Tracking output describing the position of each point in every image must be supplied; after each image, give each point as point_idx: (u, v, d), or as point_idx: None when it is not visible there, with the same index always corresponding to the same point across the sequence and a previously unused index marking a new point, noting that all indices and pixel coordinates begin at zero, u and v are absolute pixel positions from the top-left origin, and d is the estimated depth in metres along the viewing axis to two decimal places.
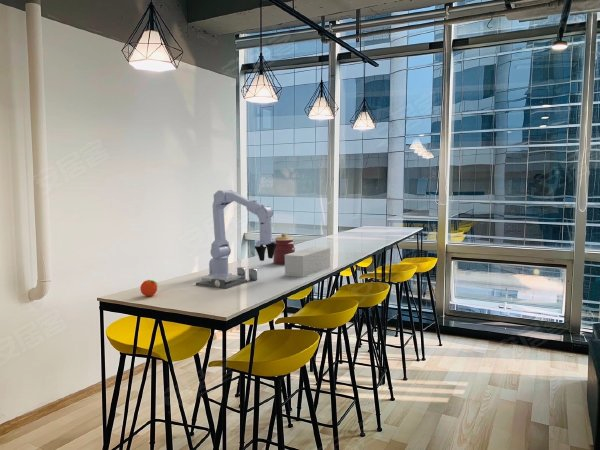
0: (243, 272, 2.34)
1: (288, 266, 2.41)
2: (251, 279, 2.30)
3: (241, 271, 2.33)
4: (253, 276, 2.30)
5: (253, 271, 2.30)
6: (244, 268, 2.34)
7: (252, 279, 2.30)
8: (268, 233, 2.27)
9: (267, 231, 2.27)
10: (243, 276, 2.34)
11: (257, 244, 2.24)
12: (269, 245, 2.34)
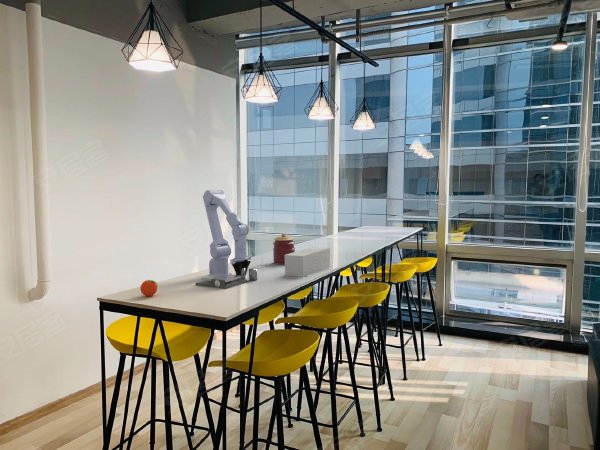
0: (243, 272, 2.34)
1: (288, 266, 2.41)
2: (251, 279, 2.30)
3: (241, 271, 2.33)
4: (253, 276, 2.30)
5: (253, 271, 2.30)
6: (244, 268, 2.34)
7: (252, 279, 2.30)
8: (243, 250, 2.32)
9: (241, 248, 2.31)
10: (243, 276, 2.34)
11: (232, 261, 2.28)
12: (243, 262, 2.37)
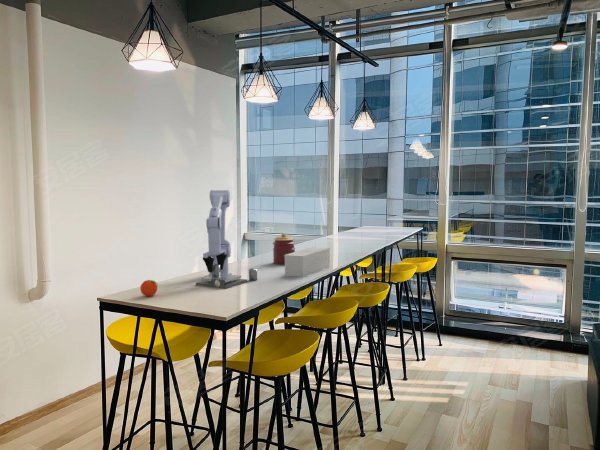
0: (218, 269, 2.25)
1: (288, 266, 2.41)
2: (251, 279, 2.30)
3: (216, 268, 2.24)
4: (253, 276, 2.30)
5: (253, 271, 2.30)
6: (219, 265, 2.25)
7: (252, 279, 2.30)
8: (217, 244, 2.23)
9: (210, 242, 2.23)
10: (218, 273, 2.25)
11: (204, 255, 2.19)
12: (219, 256, 2.29)
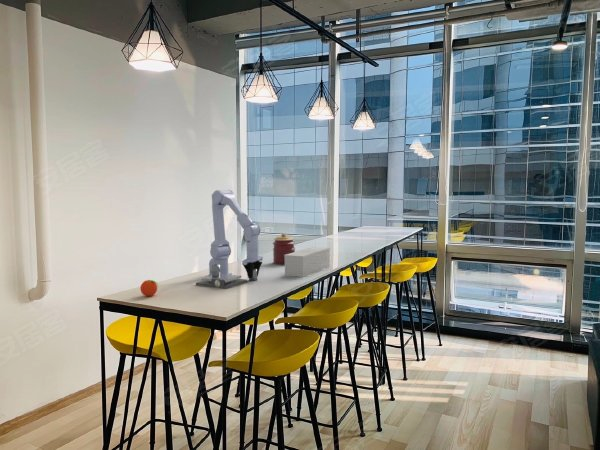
0: (218, 269, 2.25)
1: (288, 266, 2.41)
2: (251, 279, 2.30)
3: (216, 268, 2.24)
4: (253, 276, 2.30)
5: (253, 271, 2.30)
6: (219, 265, 2.25)
7: (252, 279, 2.30)
8: (255, 251, 2.29)
9: (253, 249, 2.28)
10: (218, 273, 2.25)
11: (243, 262, 2.25)
12: (254, 263, 2.33)
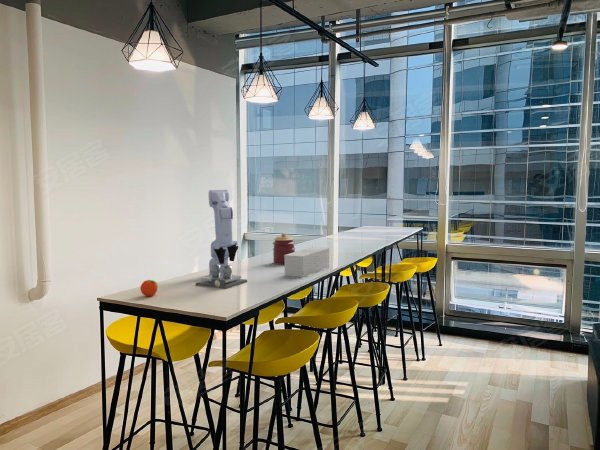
0: (218, 269, 2.25)
1: (288, 266, 2.41)
2: (226, 276, 2.21)
3: (216, 268, 2.24)
4: (227, 273, 2.21)
5: (228, 268, 2.21)
6: (219, 265, 2.25)
7: (227, 276, 2.21)
8: (228, 235, 2.19)
9: (222, 233, 2.19)
10: (218, 273, 2.25)
11: (216, 246, 2.16)
12: (230, 247, 2.25)
